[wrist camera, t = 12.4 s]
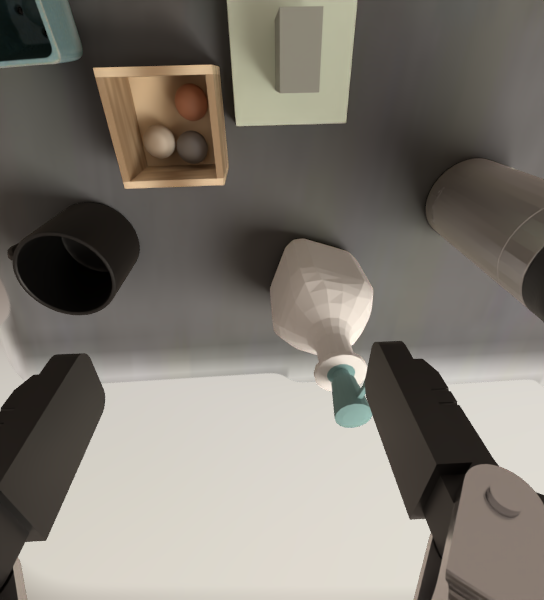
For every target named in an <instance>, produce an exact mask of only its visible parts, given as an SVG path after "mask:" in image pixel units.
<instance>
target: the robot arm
mask: <svg viewBox="0 0 544 600" xmlns="http://www.w3.org/2000/svg"><path fill="white" fill-rule="evenodd" d="M426 217H427V220H428V223H429V224H430V226H431V227H432V228H433V229H434V230H435V231H436V232H437V233H439V234H440V235H441V236H442V237H443V238H444V239H446V240H447V241H448V242H449V243H450V244H451V245H452V246H454V247H455V248H456V249H457V250H458V251H460V252H461V253H462V254H463V255H464V256H466V257H467V258H468V259H469V260H470V261H472V262H473V263H474V264H475V265H476V266H477V267H479V268H480V269H481V270H482V271H483V272H485V273H486V274H487V275H488V276H489V277H491V278H492V279H493V280H494V281H495V282H497V283H498V284H499V285H500V286H501V287H502V288H504V289H505V290H506V291H507V292H509V293H510V294H511V295H512V296H513V297H515V298H516V299H517V300H518V301H519V302H521V303H522V304H523V305H524V306H525V307H527V308H528V309H529V310H530V311H531V312H533V313H534V314H535V315H536V316H537V317H539V318H540V319H541V320H542V321H543V322H544V179H541V178H539V177H536V176H533V175H530V174H527V173H525V172H522V171H519V170H516V169H514V168H511V167H508V166H505V165H503V164H500V163H497V162H494V161H491V160H487V159H483V158H473V159H469V160H465V161H462V162H460V163H458V164H456V165H454V166H453V167H451V168H450V169H448V170H447V171H446V172H445V173H444V174H443V175H441V176H440V177H439V179H438V180H437V181H436V183H435V184H434V185H433V187H432V189H431V191H430V193H429V195H428V198H427V202H426ZM365 392H366V398H367V401H368V404H369V407H370V410H371V412H372V415H373V418H374V421H375V423H376V426H377V429H378V432H379V435H380V437H381V440H382V443H383V446H384V449H385V451H386V454H387V457H388V459H389V462H390V465H391V468H392V471H393V474H394V476H395V479H396V482H397V485H398V488H399V490H400V493H401V496H402V499H403V501H404V504H405V507H406V510H407V513H408V515H409V518H410V519H426V521H427V523H428V526H429V528H430V531H431V534H430V537H429V541H428V545H427V549H426V552H425V557H424V560H423V565H422V568H421V572H420V576H419V581H418V585H417V589H416V592H415V596H414V600H544V495H542V494H539V493H536V492H535V491H534V490H533V489H532V488H531V487H530V486H529V485H528V484H527V483H526V482H525V481H524V480H522V479H521V478H520V477H519V476H517V475H516V474H514V473H512V472H510V471H509V470H507V469H504V468H502V467H499V466H498V464H497V463H496V462H495V460H494V459H493V458H492V456H491V454H490V453H489V451H488V450H487V448H486V446H485V445H484V443H483V442H482V440H481V439H480V437H479V435H478V434H477V432H476V431H475V429H474V428H473V426H472V425H471V423H470V421H469V420H468V418H467V417H466V415H465V413H464V412H463V410H462V409H461V407H460V406H459V405H457V401H456V399H455V398H454V396H453V394H452V393H451V392H450V391H449V390H448V387H447V385H446V383H445V382H444V380H443V379H442V377H441V376H440V374H439V372H438V371H436V370H435V369H434V368H433V367H432V366H431V365H429V364H428V363H427V362H426V361H425V360H423V359H413V357H412V356H411V354H410V352H409V350H408V349H407V347H406V345H405V344H404V343H403V342H402V341H390V342H375V343H374V344H373V345H372V349H371V354H370V358H369V363H368V368H367V373H366V377H365ZM104 404H105V393H104V389H103V387H102V384H101V382H100V380H99V377H98V375H97V373H96V371H95V368H94V366H93V364H92V361H91V359H90V357H89V356H88V355H87V354H84V353H83V354H60V355H54V356H53V357H52V358H51V359H50V360H49V361H48V363H47V364H46V365H45V367H44V368H43V370H42V371H41V372H40V374H39V375H33V376H31V377H30V378H29V379H28V380H26V381H25V382H24V383H23V384H21V385H20V386H19V387H18V388H16V389H15V390H14V391H13V393H12V394H11V395H10V396H9V398H8V399H7V400H6V402H5V403H4V404H3V406H2V407H1V411H0V600H27V596H26V590H25V585H24V579H23V573H22V568H21V563H20V560H19V559H18V555H19V553H20V551H21V549H22V547H23V545H24V543H25V542H30V541H46V539H47V537H48V535H49V532H50V530H51V528H52V526H53V524H54V521H55V519H56V517H57V515H58V512H59V510H60V508H61V506H62V503H63V501H64V499H65V496H66V494H67V492H68V490H69V487H70V485H71V483H72V480H73V478H74V476H75V474H76V472H77V469H78V467H79V465H80V462H81V460H82V458H83V456H84V454H85V451H86V449H87V447H88V445H89V442H90V440H91V438H92V436H93V433H94V431H95V429H96V426H97V424H98V422H99V420H100V417H101V415H102V413H103V410H104V406H105V405H104Z"/></svg>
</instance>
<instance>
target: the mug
mask: <svg viewBox="0 0 544 600" xmlns="http://www.w3.org/2000/svg"><path fill="white" fill-rule="evenodd" d="M139 250H140V246H139V240H138V237H137V234H136V232H135V230H134V228H133V227H132V225H131V224H130V223H129V221H128V220H127V219H126V218H125V217H124V216H122V215H121V214H120V213H118V212H117V211H115V210H114V209H112V208H110V207H108V206H105V205H102V204H97V203H90V202H84V203H78V204H74V205H72V206H70V207H68V208H66V209H65V210H64V211H62V212H61V213H59V214H58V215H57V216H55V217H54V218H52V219H51V220H50V221H48V222H47V223H45V224H44V225H42V226H41V227H40V228H38V229H37V230H35V231H34V232H33V233H31V234H30V235H28V236H27V237H26V238H24V239H23V240H22V241H21V242H20V243H19V244H16V245H14V246H12V247H10V248H9V249H8V258H9V259H11V260H13V269H14V273H15V275H16V278H17V280H18V281H19V283H20V285H21V286H22V287H23V289H24V290H25V291H26V292H27V293H28V294H29V295H30V296H31V297H32V298H34V299H35V300H36V301H38V302H39V303H41V304H42V305H44V306H46V307H48V308H50V309H52V310H55V311H57V312H61V313H65V314H70V315H88V314H92V313H95V312H98V311H100V310H102V309H103V308H105V307H106V306H107V305H109V304H110V302H111V301H112V300H113V298H114V296H115V295H116V293H117V292H118V290H119V288H120V287H121V285H122V284H123V282H124V280H125V279H126V277H127V276H128V274H129V272H130V271H131V269H132V268H133V266H134V264H135V263H136V261H137V259H138V256H139Z"/></svg>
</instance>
